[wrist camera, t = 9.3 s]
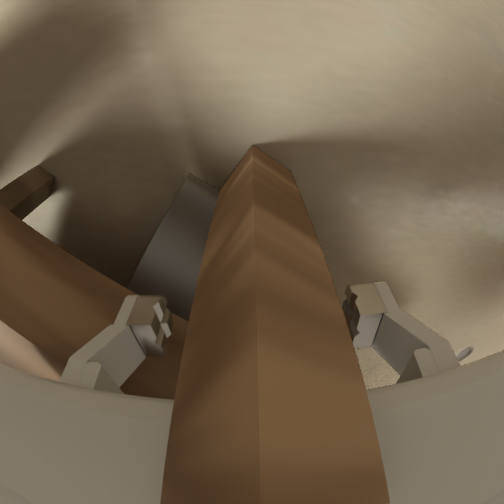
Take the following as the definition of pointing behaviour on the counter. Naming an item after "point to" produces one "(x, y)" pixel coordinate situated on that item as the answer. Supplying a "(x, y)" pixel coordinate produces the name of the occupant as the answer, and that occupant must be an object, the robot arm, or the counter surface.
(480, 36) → the counter surface
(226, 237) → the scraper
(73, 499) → the robot arm
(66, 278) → the small wooden table
